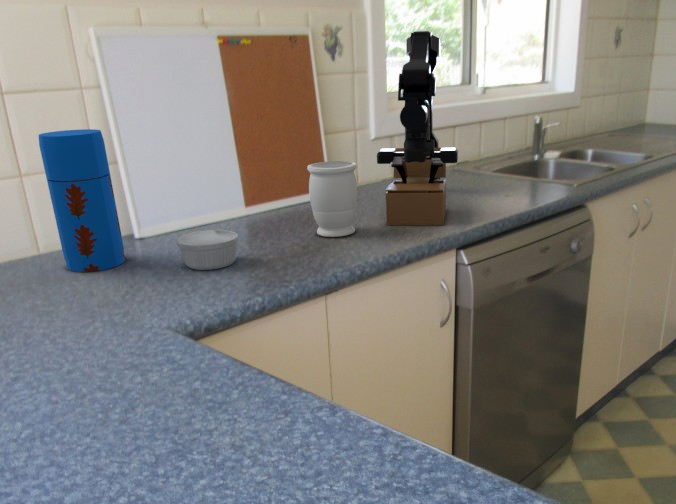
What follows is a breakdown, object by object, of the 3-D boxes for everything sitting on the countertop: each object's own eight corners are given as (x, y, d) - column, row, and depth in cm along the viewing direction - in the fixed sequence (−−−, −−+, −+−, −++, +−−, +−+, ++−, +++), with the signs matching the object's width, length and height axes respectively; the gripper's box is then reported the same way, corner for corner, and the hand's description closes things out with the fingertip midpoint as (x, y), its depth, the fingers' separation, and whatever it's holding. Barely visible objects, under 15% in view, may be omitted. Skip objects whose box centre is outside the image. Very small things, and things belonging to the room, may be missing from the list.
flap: (393, 177, 162) (393, 178, 162) (445, 177, 161) (445, 177, 161) (393, 148, 162) (394, 148, 162) (445, 147, 160) (445, 147, 161)
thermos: (61, 274, 124) (30, 138, 115) (71, 258, 133) (44, 131, 124) (123, 268, 126) (97, 134, 117) (128, 253, 136) (106, 127, 127)
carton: (394, 210, 165) (393, 177, 162) (445, 210, 164) (445, 177, 161) (386, 225, 151) (385, 190, 148) (442, 225, 150) (442, 189, 147)
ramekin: (253, 259, 129) (250, 232, 128) (210, 275, 121) (207, 247, 119) (211, 252, 135) (208, 226, 133) (168, 267, 126) (164, 240, 124)
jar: (331, 224, 153) (327, 159, 148) (368, 229, 148) (365, 162, 143) (302, 236, 144) (296, 166, 139) (341, 241, 139) (336, 170, 134)
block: (407, 198, 157) (406, 177, 155) (409, 194, 162) (408, 174, 160) (428, 198, 157) (427, 177, 155) (429, 194, 161) (429, 173, 159)
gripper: (372, 130, 147) (375, 199, 152) (456, 128, 145) (456, 199, 150) (379, 124, 157) (381, 189, 163) (458, 123, 155) (457, 189, 161)
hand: (418, 192), depth 159 cm, fingers closed on block, 5 cm apart
